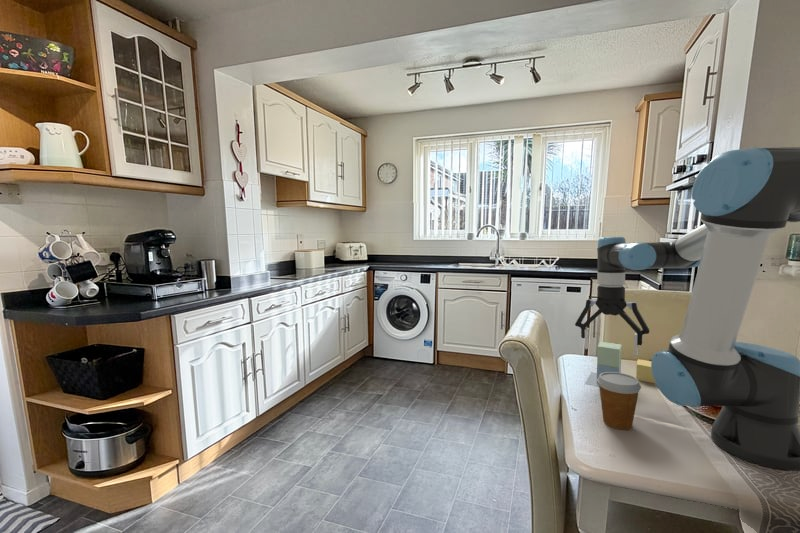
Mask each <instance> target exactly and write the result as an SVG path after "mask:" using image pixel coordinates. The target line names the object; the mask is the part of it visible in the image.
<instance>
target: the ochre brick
mask: <svg viewBox="0 0 800 533" xmlns="http://www.w3.org/2000/svg"><path fill="white" fill-rule="evenodd" d="M635 373H636V374H635V375H636V376H635V378H636V379H637V380H638V381H642V382H646V383H647V382H648V383H652V384H656V382H655V380H654V377H653V374H652V369H651V361H649V360H646V359H639V358H638V359H637V362H636V372H635Z"/></svg>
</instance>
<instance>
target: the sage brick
mask: <svg viewBox="0 0 800 533" xmlns="http://www.w3.org/2000/svg"><path fill="white" fill-rule="evenodd" d="M622 345H623V344H621V343H613V342H607V341H606V342H605V341H599V343H598V345H597V349H596V350H597V351H596V352H597V357H596V358H597V362H596V363H597V364H598V365H603V366H609V367H615V368H619V367H620V364H621V365H622ZM597 364H596V365H597Z"/></svg>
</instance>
